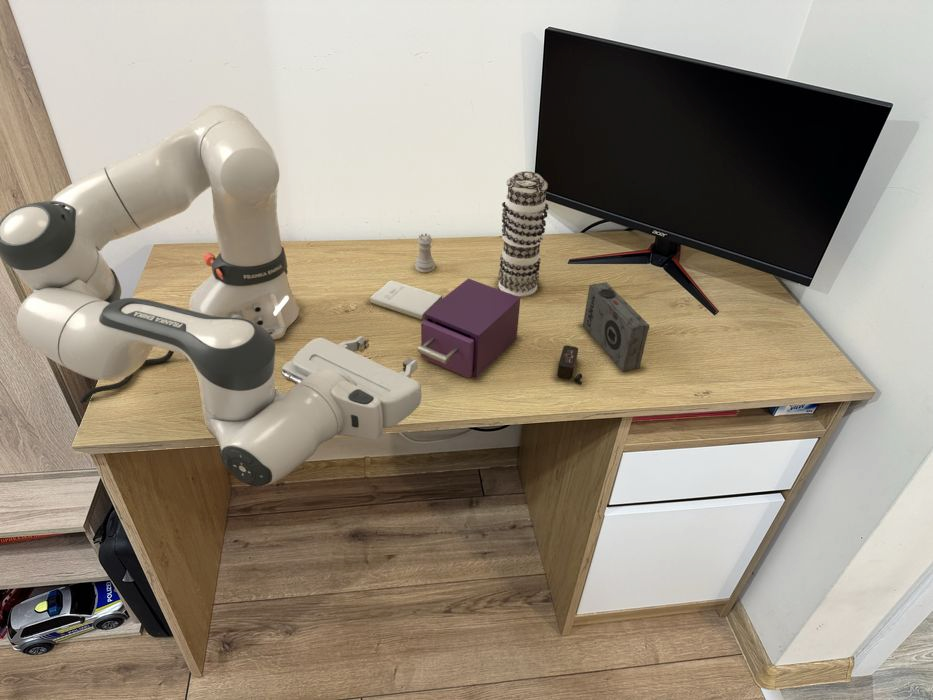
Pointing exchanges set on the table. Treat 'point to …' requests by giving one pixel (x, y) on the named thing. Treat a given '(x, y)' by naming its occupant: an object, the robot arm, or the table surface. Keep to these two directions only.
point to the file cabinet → (480, 319)
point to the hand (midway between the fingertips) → (389, 351)
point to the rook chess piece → (424, 255)
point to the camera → (615, 326)
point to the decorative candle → (522, 233)
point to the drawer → (447, 347)
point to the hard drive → (405, 299)
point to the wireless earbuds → (568, 364)
